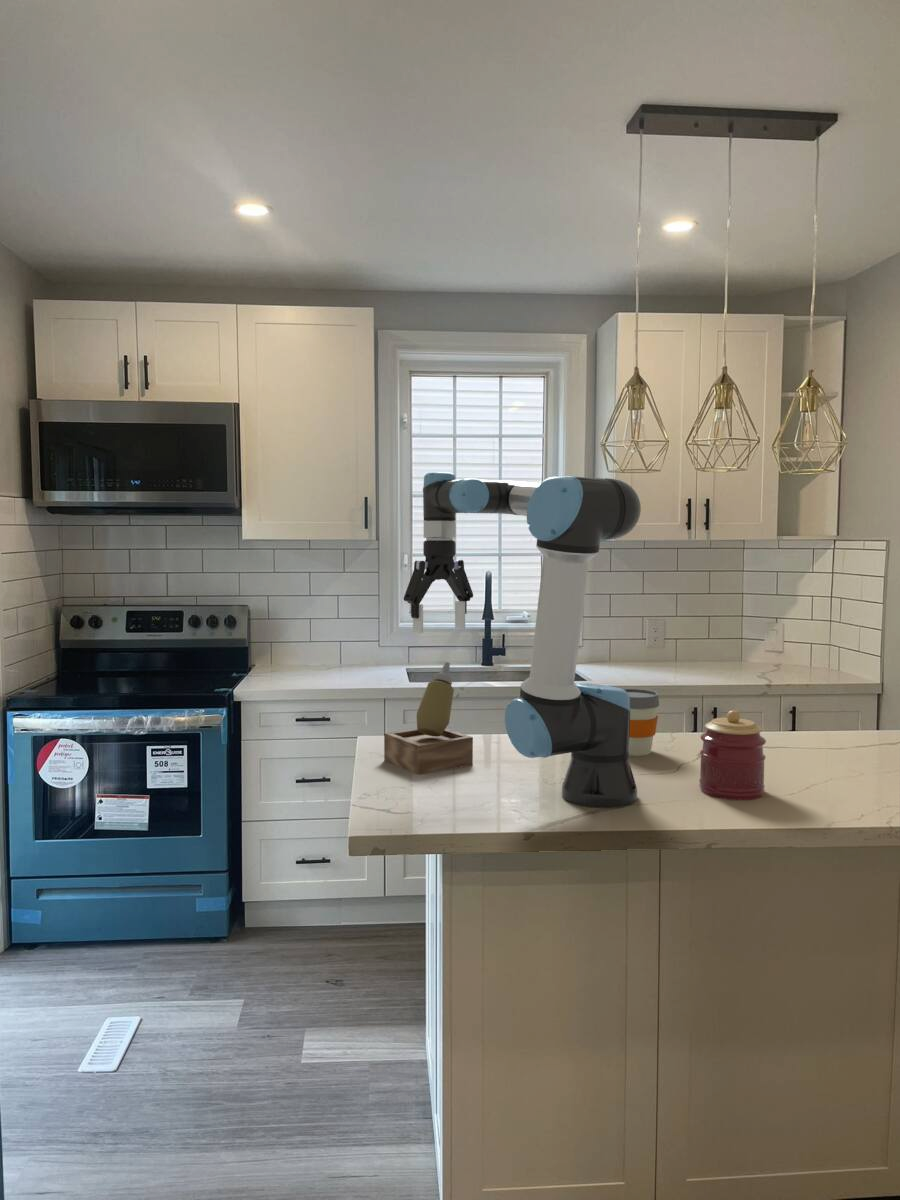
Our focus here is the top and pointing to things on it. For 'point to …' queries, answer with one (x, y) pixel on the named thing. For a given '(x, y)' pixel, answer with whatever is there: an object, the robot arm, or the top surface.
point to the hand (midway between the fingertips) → (439, 630)
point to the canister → (732, 759)
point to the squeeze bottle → (436, 704)
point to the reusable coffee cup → (642, 720)
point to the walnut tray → (427, 750)
